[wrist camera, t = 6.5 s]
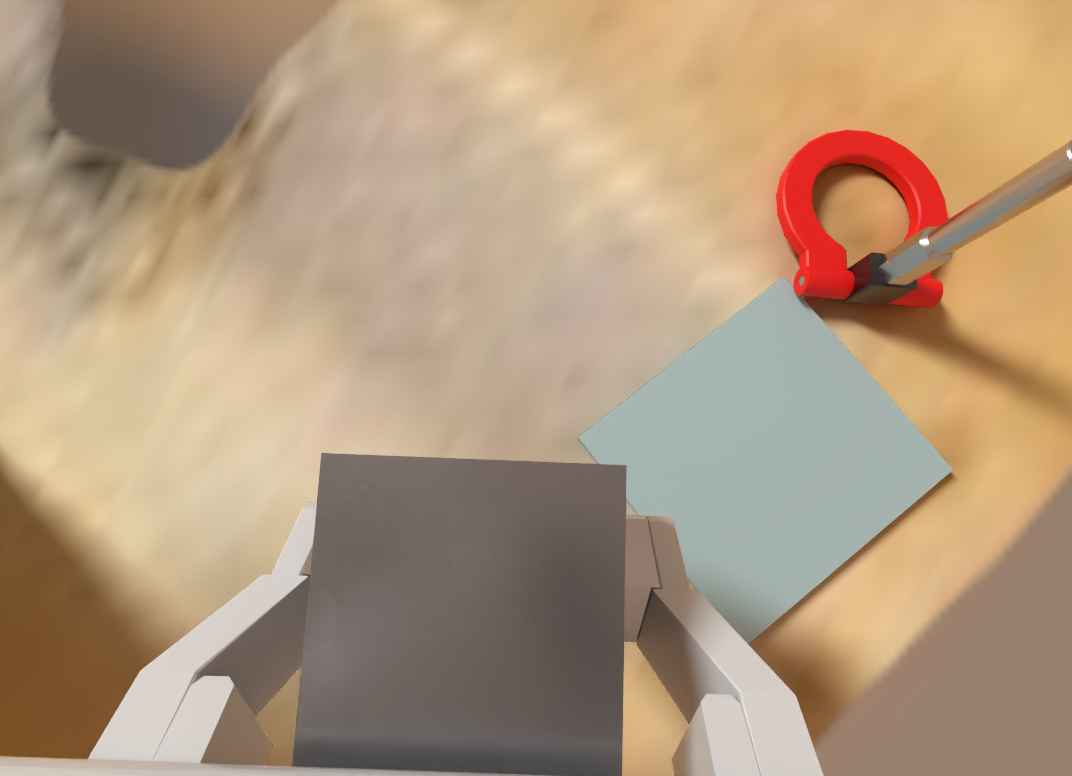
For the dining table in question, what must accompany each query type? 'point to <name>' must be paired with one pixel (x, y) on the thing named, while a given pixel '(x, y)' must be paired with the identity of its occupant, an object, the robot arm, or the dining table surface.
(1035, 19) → the dining table surface
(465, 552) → the link block
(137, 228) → the dining table surface
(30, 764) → the robot arm
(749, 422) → the pad
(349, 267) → the dining table surface
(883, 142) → the tow hook
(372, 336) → the dining table surface
